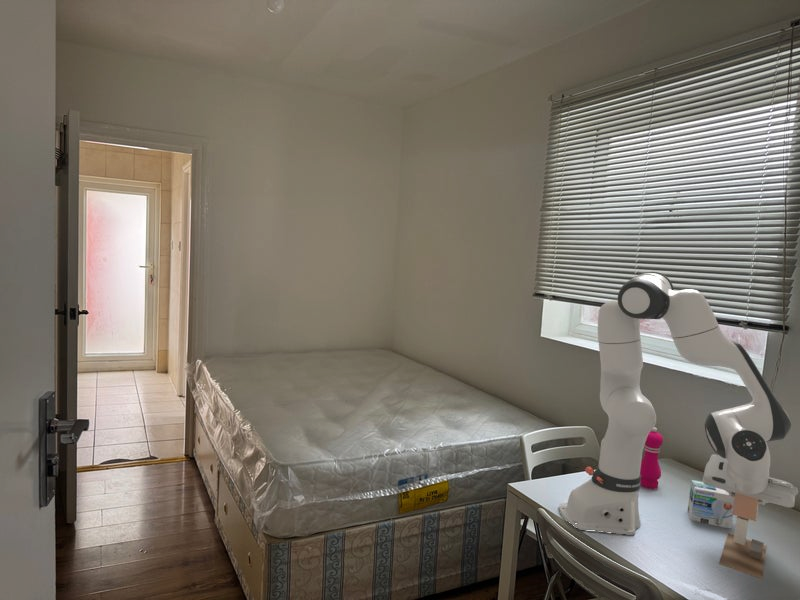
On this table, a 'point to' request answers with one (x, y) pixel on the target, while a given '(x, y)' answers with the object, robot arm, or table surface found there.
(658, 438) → the pepper mill
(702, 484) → the light bulb box
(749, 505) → the peach rectangular block
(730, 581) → the table surface
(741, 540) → the post
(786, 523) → the table surface
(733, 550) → the board
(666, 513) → the table surface
